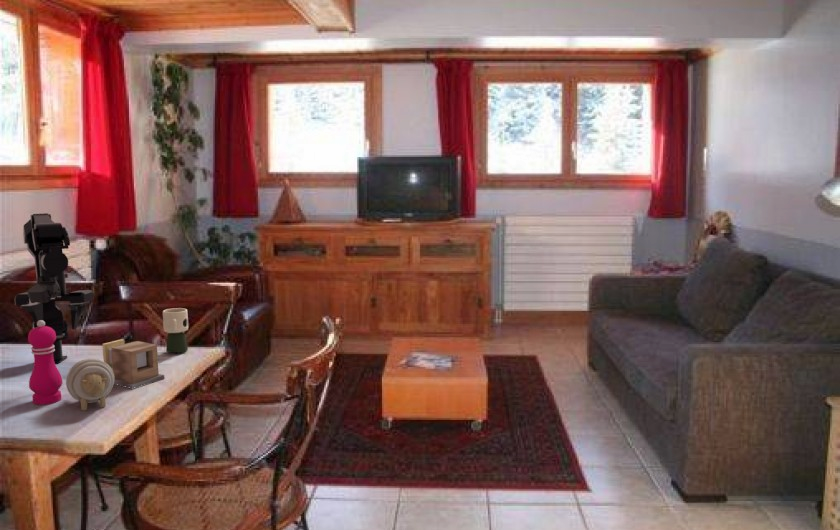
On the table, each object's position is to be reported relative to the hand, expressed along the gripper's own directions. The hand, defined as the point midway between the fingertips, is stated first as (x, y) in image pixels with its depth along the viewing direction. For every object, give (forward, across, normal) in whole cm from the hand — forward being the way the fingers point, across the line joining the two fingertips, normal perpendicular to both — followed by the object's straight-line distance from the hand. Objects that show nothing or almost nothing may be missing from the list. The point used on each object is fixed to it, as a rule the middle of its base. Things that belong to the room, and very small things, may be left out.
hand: (57, 330), depth 192 cm
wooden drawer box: (+14, +17, +2) cm, 22 cm away
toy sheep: (+15, +18, -17) cm, 29 cm away
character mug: (+13, +20, +29) cm, 38 cm away
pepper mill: (+15, +5, -16) cm, 22 cm away
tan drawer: (+12, +17, +2) cm, 21 cm away
